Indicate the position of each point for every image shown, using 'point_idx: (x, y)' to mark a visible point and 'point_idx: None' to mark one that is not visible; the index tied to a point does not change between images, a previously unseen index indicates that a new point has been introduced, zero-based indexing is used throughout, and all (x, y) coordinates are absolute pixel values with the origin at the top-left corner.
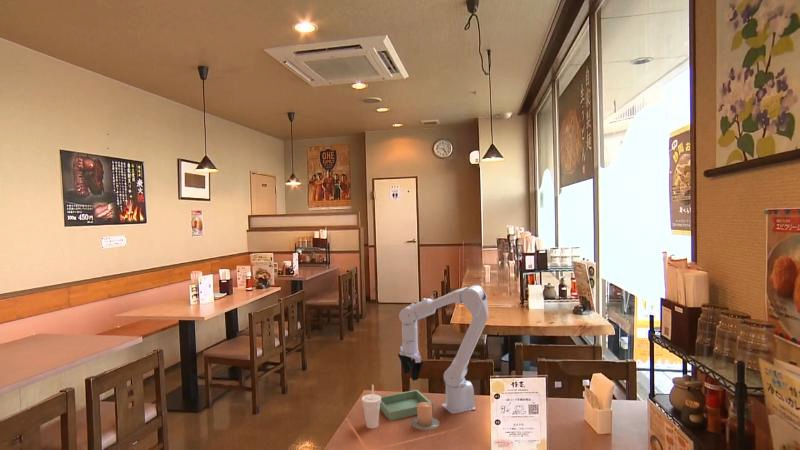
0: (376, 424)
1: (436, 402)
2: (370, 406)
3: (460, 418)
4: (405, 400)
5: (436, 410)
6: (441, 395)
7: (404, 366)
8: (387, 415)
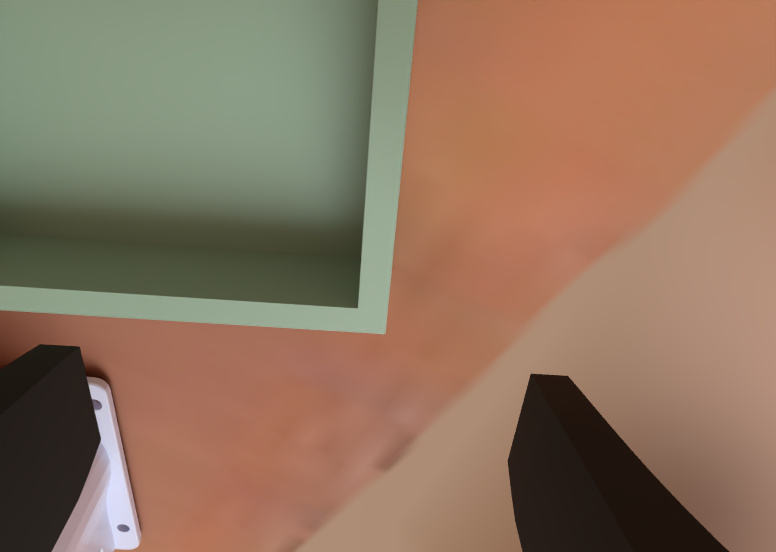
0: None
1: (205, 375)
2: None
3: None
4: (363, 117)
5: None
6: (328, 466)
7: (585, 516)
8: None
